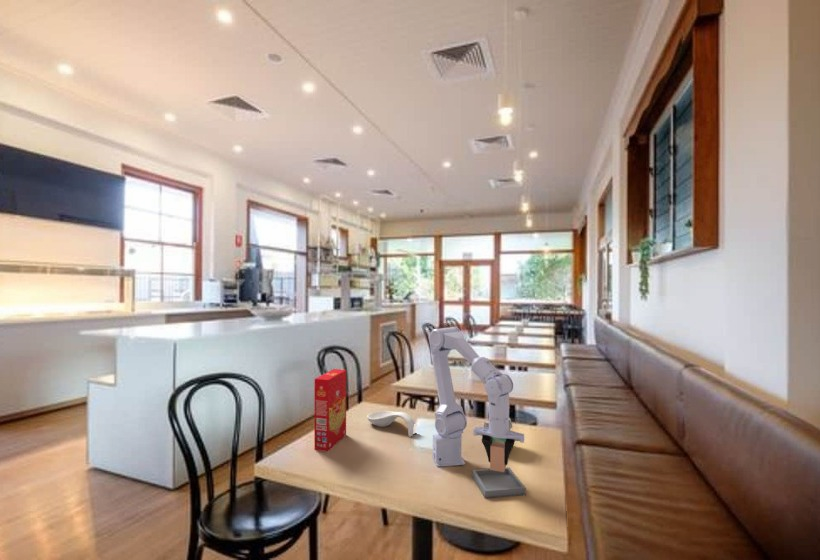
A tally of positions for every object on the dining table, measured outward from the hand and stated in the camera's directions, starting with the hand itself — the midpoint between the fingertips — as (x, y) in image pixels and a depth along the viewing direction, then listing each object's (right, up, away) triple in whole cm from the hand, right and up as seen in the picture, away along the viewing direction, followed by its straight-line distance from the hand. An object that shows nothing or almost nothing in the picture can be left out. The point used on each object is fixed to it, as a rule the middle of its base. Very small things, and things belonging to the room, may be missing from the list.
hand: (498, 462), depth 119 cm
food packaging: (-55, -6, +29) cm, 63 cm away
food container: (+6, -7, +24) cm, 26 cm away
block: (0, -2, 0) cm, 2 cm away
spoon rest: (-33, -6, +44) cm, 55 cm away
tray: (0, -7, 0) cm, 7 cm away
